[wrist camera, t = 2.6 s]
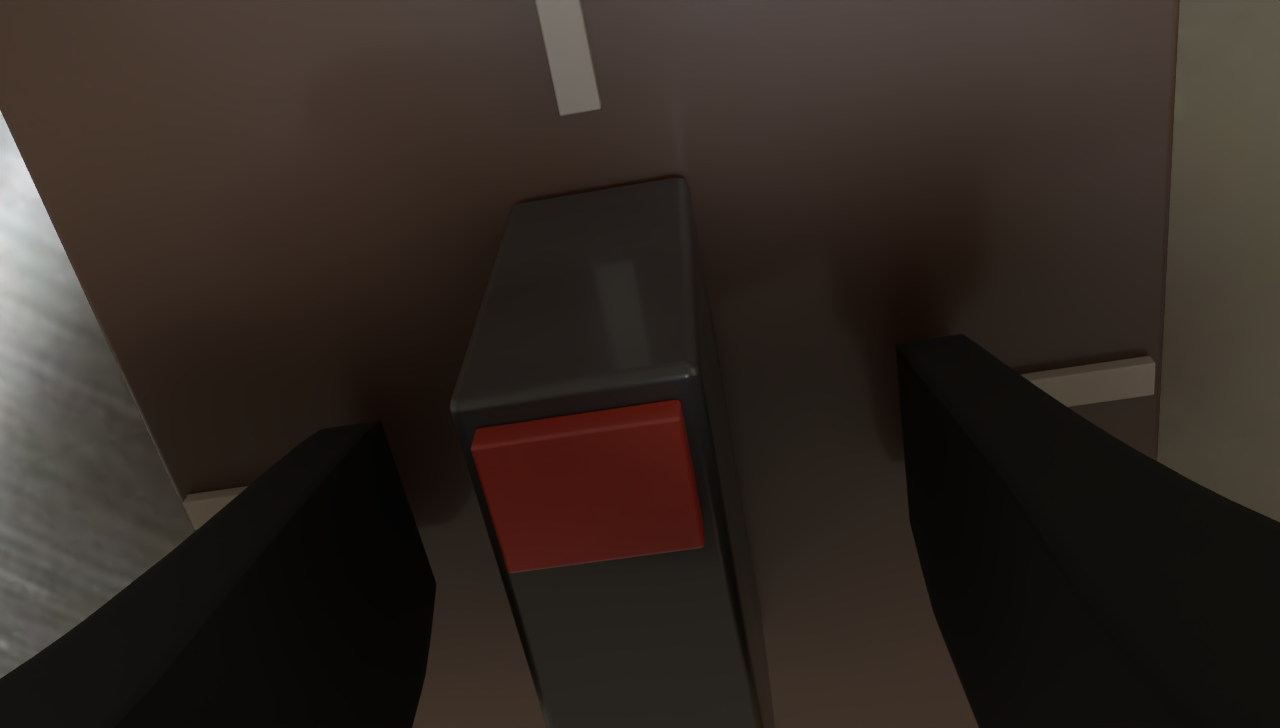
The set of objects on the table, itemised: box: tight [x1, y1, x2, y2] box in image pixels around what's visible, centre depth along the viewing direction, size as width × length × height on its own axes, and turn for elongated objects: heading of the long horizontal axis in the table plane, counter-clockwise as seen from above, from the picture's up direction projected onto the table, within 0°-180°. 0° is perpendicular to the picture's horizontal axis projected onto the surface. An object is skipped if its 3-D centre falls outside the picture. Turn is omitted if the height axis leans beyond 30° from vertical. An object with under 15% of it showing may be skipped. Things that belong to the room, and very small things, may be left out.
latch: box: [450, 178, 775, 728], centre depth 10 cm, size 6×2×4 cm, turn 10°
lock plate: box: [0, 0, 1179, 728], centre depth 13 cm, size 12×10×3 cm
